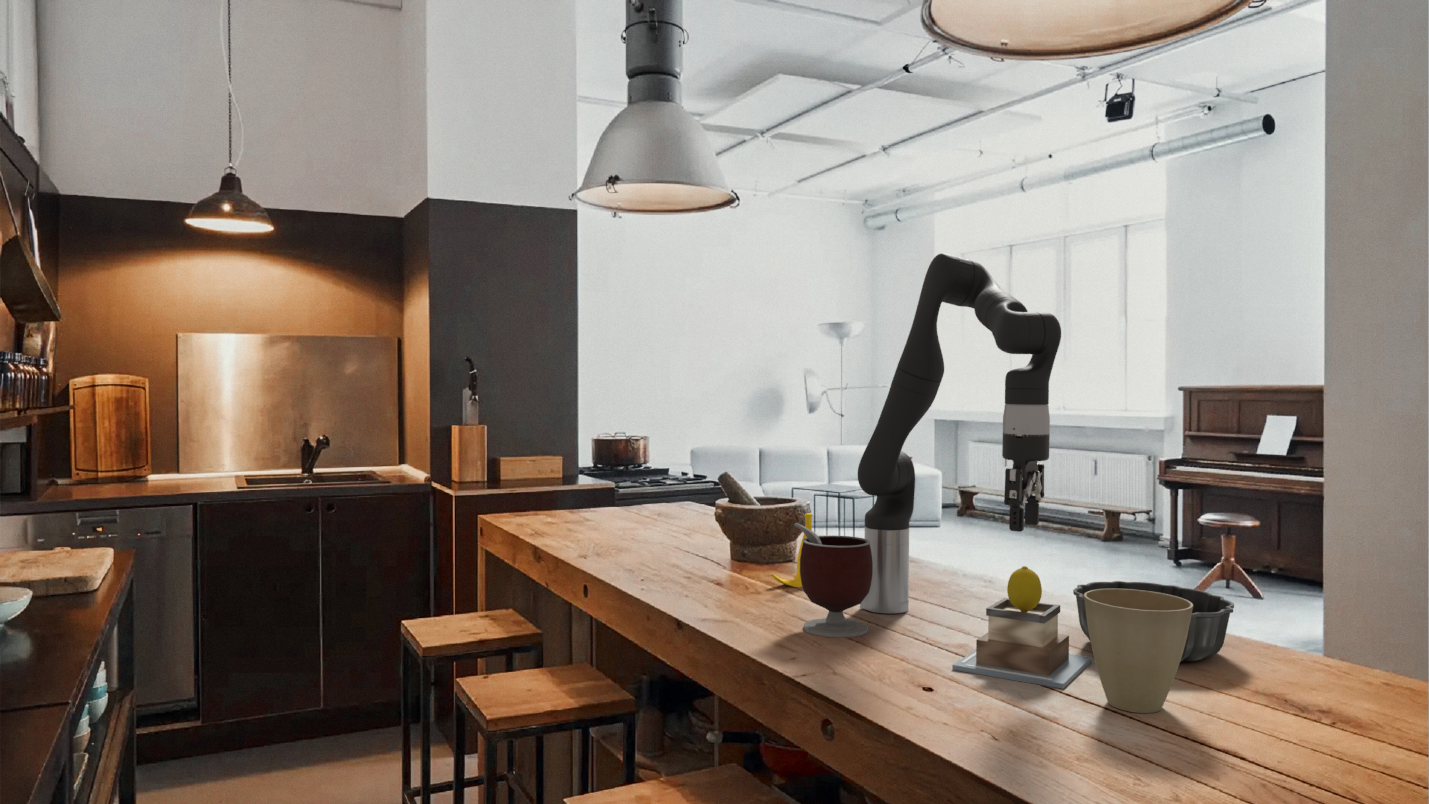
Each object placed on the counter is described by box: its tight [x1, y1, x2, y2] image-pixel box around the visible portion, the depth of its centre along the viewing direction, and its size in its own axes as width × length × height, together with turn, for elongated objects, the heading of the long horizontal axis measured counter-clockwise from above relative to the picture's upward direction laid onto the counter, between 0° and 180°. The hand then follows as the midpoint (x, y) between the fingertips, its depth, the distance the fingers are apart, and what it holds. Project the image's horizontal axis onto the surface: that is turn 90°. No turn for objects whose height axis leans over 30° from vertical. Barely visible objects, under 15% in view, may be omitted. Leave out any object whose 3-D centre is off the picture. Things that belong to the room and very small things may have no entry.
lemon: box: [1006, 565, 1043, 613], centre depth 169 cm, size 6×6×8 cm
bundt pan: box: [1072, 580, 1235, 663], centre depth 179 cm, size 26×26×10 cm
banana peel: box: [770, 512, 813, 588], centre depth 235 cm, size 17×19×17 cm
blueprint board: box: [951, 649, 1092, 690], centre depth 169 cm, size 18×18×1 cm
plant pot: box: [1084, 588, 1193, 714], centre depth 149 cm, size 15×15×16 cm
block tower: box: [975, 597, 1070, 676], centre depth 169 cm, size 12×12×9 cm
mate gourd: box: [793, 522, 873, 638], centre depth 193 cm, size 16×14×20 cm
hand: (1024, 527), depth 168 cm, fingers open, 8 cm apart
